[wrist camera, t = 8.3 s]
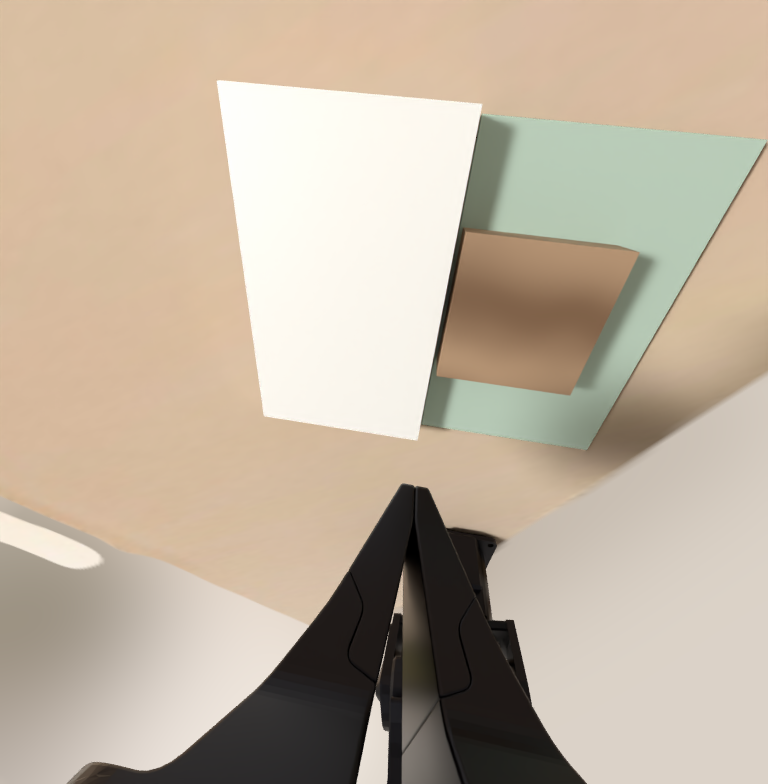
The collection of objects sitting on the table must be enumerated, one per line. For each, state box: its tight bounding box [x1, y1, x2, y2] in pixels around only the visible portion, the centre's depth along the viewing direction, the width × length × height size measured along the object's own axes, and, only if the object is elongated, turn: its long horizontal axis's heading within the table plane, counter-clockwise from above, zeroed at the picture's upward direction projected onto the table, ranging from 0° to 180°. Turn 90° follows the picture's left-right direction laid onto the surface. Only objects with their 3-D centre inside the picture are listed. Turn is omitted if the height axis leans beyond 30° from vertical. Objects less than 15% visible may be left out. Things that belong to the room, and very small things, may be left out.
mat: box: [422, 114, 767, 450], centre depth 17 cm, size 16×11×1 cm
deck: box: [217, 80, 482, 440], centre depth 17 cm, size 16×10×2 cm, turn 175°
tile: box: [437, 227, 640, 396], centre depth 16 cm, size 7×7×2 cm
